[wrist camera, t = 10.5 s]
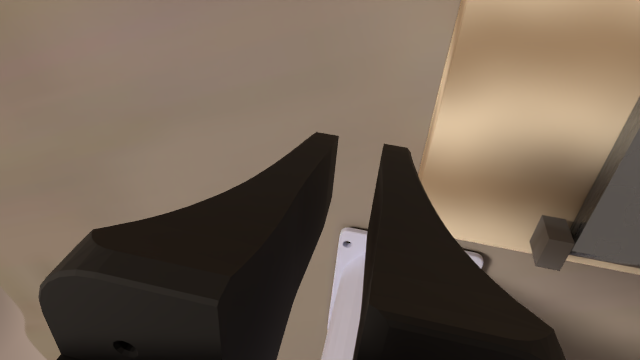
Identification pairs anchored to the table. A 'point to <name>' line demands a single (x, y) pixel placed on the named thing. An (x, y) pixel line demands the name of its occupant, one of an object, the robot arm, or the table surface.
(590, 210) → the gray rectangular block
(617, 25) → the board
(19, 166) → the table surface
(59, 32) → the table surface
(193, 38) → the table surface
